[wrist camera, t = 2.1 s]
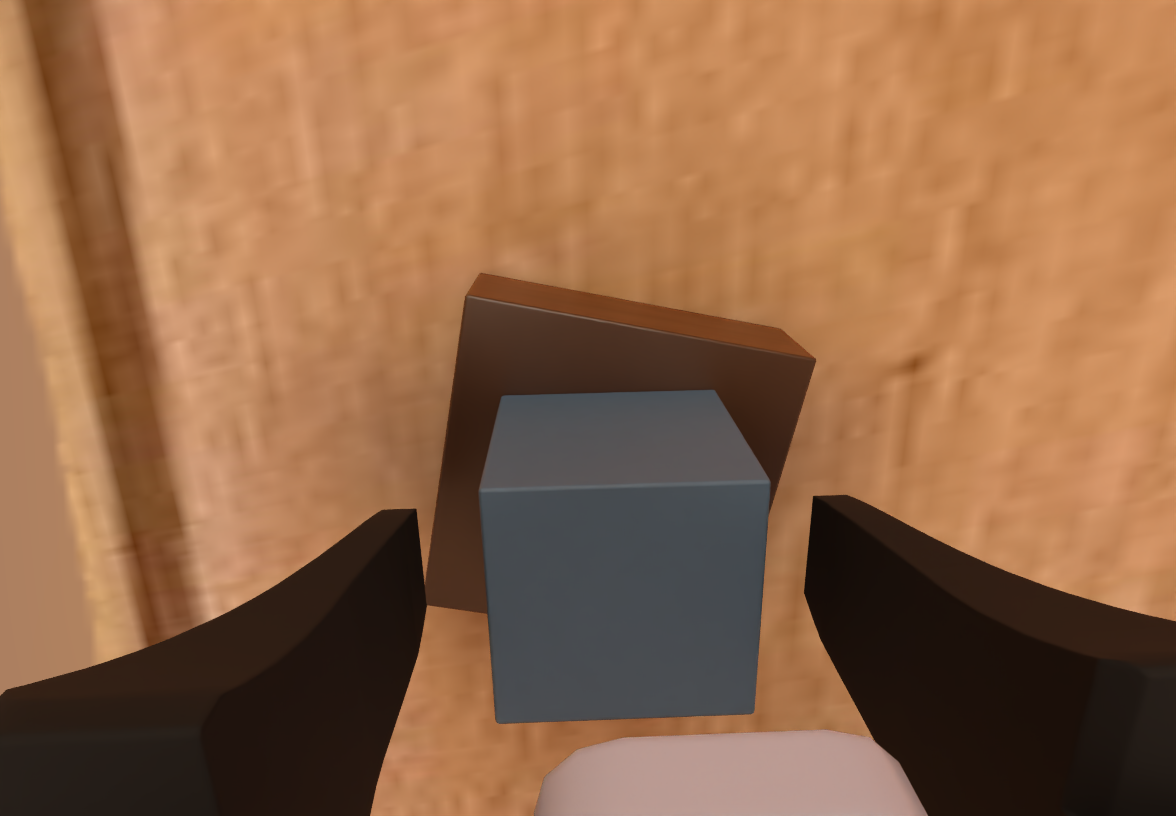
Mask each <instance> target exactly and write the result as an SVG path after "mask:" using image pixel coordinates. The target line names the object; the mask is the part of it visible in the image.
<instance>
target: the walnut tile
mask: <svg viewBox="0 0 1176 816" xmlns="http://www.w3.org/2000/svg"><path fill="white" fill-rule="evenodd" d="M815 363H816V359H815V358H814V357H813V356H812V355H811V354H809V353H808V352H807V351H806V350H805V349H804V348H802V347H801V346H800V345H799V344H798V343H797V342H795V341H794V340H793V339H792V338H791V337H790V336H788V335H787V334H786V333H785V332H784V331H783V330H781V329H778V328H773V327H767V326H762V325H756V324H751V323H746V322H740V321H735V320H730V319H724V318H719V317H714V316H708V315H703V314H697V313H692V312H687V311H681V310H676V309H671V308H665V307H660V306H655V305H649V304H644V303H638V302H633V301H628V300H622V299H617V298H612V297H606V296H601V295H596V294H590V293H585V292H580V291H574V290H569V289H563V288H558V287H553V286H547V285H542V284H537V283H531V282H526V281H521V280H515V279H510V278H504V277H499V276H494V275H488V274H483V273H480V274H479V275H478V277H477V279H476V280H475V282H474V283H473V285H472V287H471V288H470V290H469V291H468V293H467V294H466V296H465V301H464V308H463V315H462V322H461V329H460V336H459V344H458V351H457V358H456V365H455V372H454V379H453V386H452V394H451V401H450V408H449V415H448V422H447V429H446V437H445V444H444V451H443V458H442V465H441V472H440V479H439V487H438V494H437V501H436V508H435V515H434V522H433V529H432V537H431V544H430V551H429V558H428V565H427V572H426V580H425V594H426V603H427V605H430V606H437V607H444V608H451V609H458V610H465V611H472V612H479V613H486V614H487V600H486V587H485V574H484V561H483V547H482V534H481V521H480V507H479V494H478V491H479V487H480V483H481V478H482V474H483V470H484V466H485V462H486V458H487V454H488V449H489V445H490V441H491V437H492V433H493V429H494V424H495V420H496V416H497V412H498V408H499V404H500V400H501V397H502V396H504V395H539V394H576V393H613V392H649V391H686V390H715V391H716V393H717V395H718V396H719V398H720V400H721V401H722V403H723V404H724V406H725V408H726V409H727V411H728V413H729V414H730V416H731V417H732V419H733V421H734V422H735V424H736V426H737V427H738V429H739V431H740V432H741V434H742V435H743V437H744V439H745V440H746V442H747V444H748V445H749V447H750V449H751V450H752V452H753V453H754V455H755V457H756V458H757V460H758V462H759V463H760V465H761V466H762V468H763V470H764V471H765V473H766V475H767V476H768V478H769V480H770V482H771V487H770V500H769V513H770V510H771V506H772V503H773V500H774V496H775V493H776V490H777V487H778V483H779V480H780V477H781V474H782V470H783V467H784V464H785V461H786V457H787V454H788V451H789V447H790V444H791V441H792V438H793V434H794V431H795V428H796V425H797V421H798V418H799V415H800V412H801V408H802V405H803V402H804V399H805V395H806V392H807V389H808V385H809V382H810V379H811V376H812V372H813V369H814V366H815ZM768 516H769V514H768Z"/></svg>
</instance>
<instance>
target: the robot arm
mask: <svg viewBox="0 0 1176 816" xmlns="http://www.w3.org/2000/svg"><path fill="white" fill-rule="evenodd" d="M804 594H805V597H806V600H807V603H808V606H809V609H810V612H811V615H812V618H813V620H814V623H815V626H816V628H817V631H818V634H819V636H820V639H821V641H822V643H823V645H824V647H825V649H826V651H827V653H828V654H829V656H830V658H831V660H832V662H833V664H834V666H835V668H836V670H837V672H838V673H839V675H840V677H841V679H842V681H843V683H844V685H845V686H846V688H847V690H848V692H849V694H850V696H851V698H852V699H853V701H854V703H855V705H856V707H857V709H858V711H859V712H860V714H861V716H862V718H863V720H864V722H865V724H866V725H867V727H868V729H869V731H870V733H871V735H872V736H873V738H874V740H875V741H873V740H872V739H871V738H870V737H865V736H859V735H854V734H848V733H842V732H837V731H831V730H826V729H824V730H799V731H774V732H749V733H724V734H699V735H675V736H650V737H625V738H620V739H616V740H612V741H608V742H604V743H600V744H596V745H592V746H588V747H584V748H580V749H577V750H576V751H574V752H573V753H572V754H571V755H570V756H568V757H567V758H566V759H565V760H564V761H562V762H561V763H560V764H559V765H558V766H557V767H555V768H554V769H553V770H552V771H551V772H549V773H548V774H547V775H546V776H545V777H544V780H543V783H542V786H541V790H540V793H539V797H538V800H537V803H536V807H535V810H534V816H1176V621H1172V620H1167V619H1163V618H1158V617H1153V616H1149V615H1145V614H1141V613H1137V612H1133V611H1129V610H1125V609H1121V608H1117V607H1113V606H1109V605H1106V604H1103V603H1099V602H1096V601H1092V600H1089V599H1085V598H1082V597H1079V596H1075V595H1072V594H1068V593H1065V592H1062V591H1059V590H1056V589H1053V588H1050V587H1047V586H1044V585H1042V584H1039V583H1036V582H1034V581H1031V580H1028V579H1026V578H1023V577H1020V576H1018V575H1015V574H1012V573H1009V572H1007V571H1004V570H1002V569H1000V568H997V567H995V566H992V565H990V564H988V563H985V562H983V561H981V560H979V559H977V558H974V557H972V556H970V555H968V554H966V553H963V552H961V551H959V550H957V549H955V548H953V547H951V546H949V545H947V544H944V543H942V542H940V541H938V540H936V539H934V538H932V537H930V536H928V535H926V534H925V533H923V532H921V531H919V530H917V529H915V528H913V527H911V526H909V525H907V524H905V523H903V522H902V521H900V520H898V519H896V518H894V517H892V516H890V515H888V514H886V513H884V512H883V511H881V510H879V509H877V508H875V507H873V506H871V505H869V504H867V503H865V502H862V501H860V500H858V499H856V498H853V497H851V496H848V495H832V496H813V503H812V514H811V524H810V535H809V545H808V556H807V567H806V577H805V588H804ZM426 608H427V603H426V594H425V585H424V575H423V566H422V557H421V547H420V538H419V529H418V520H417V510H416V509H392V510H381V511H380V512H378V513H376V514H375V515H373V516H372V517H371V518H369V519H368V520H366V521H365V522H364V523H362V524H361V525H360V526H359V527H357V528H356V529H355V530H353V531H352V532H351V533H349V534H348V535H347V536H345V537H344V538H343V539H341V540H340V541H339V542H337V543H336V544H335V545H333V546H332V547H331V548H329V549H328V550H327V551H325V552H324V553H323V554H321V555H320V556H319V557H317V558H316V559H314V560H313V561H311V562H310V563H308V564H307V565H305V566H304V567H302V568H301V569H299V570H298V571H296V572H295V573H293V574H292V575H291V576H289V577H288V578H286V579H285V580H283V581H282V582H280V583H279V584H277V585H275V586H274V587H272V588H271V589H269V590H267V591H266V592H264V593H262V594H260V595H259V596H257V597H255V598H253V599H252V600H250V601H248V602H246V603H244V604H242V605H240V606H239V607H237V608H235V609H233V610H231V611H229V612H227V613H225V614H223V615H221V616H219V617H217V618H215V619H213V620H210V621H208V622H206V623H204V624H202V625H199V626H197V627H195V628H193V629H190V630H188V631H186V632H184V633H181V634H179V635H177V636H175V637H172V638H170V639H168V640H165V641H163V642H160V643H158V644H155V645H152V646H150V647H147V648H144V649H142V650H139V651H136V652H134V653H131V654H128V655H125V656H122V657H119V658H116V659H113V660H110V661H107V662H104V663H101V664H98V665H95V666H92V667H89V668H86V669H82V670H78V671H75V672H71V673H68V674H64V675H60V676H57V677H53V678H49V679H46V680H42V681H39V682H35V683H32V684H27V685H24V686H20V687H15V688H11V689H8V690H6V691H5V692H4V693H3V694H2V695H1V696H0V816H370V813H371V808H372V804H373V799H374V794H375V790H376V785H377V782H378V778H379V775H380V771H381V767H382V764H383V760H384V757H385V754H386V751H387V748H388V745H389V742H390V739H391V736H392V733H393V730H394V727H395V724H396V721H397V718H398V715H399V712H400V709H401V706H402V703H403V700H404V697H405V694H406V691H407V688H408V685H409V682H410V678H411V675H412V672H413V669H414V666H415V663H416V660H417V656H418V653H419V648H420V642H421V637H422V632H423V626H424V620H425V614H426Z"/></svg>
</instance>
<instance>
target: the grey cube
mask: <svg viewBox="0 0 1176 816" xmlns="http://www.w3.org/2000/svg"><path fill="white" fill-rule="evenodd" d="M770 487H771V482H770V480H769V478H768V476H767V475H766V473H765V471H764V470H763V468H762V466H761V465H760V463H759V462H758V460H757V458H756V457H755V455H754V453H753V452H752V450H751V449H750V447H749V445H748V444H747V442H746V440H745V439H744V437H743V435H742V434H741V432H740V431H739V429H738V427H737V426H736V424H735V422H734V421H733V419H732V417H731V416H730V414H729V413H728V411H727V409H726V408H725V406H724V404H723V403H722V401H721V400H720V398H719V396H718V395H717V393H716V391H715V390H686V391H649V392H613V393H576V394H539V395H504V396H502V397H501V400H500V404H499V408H498V412H497V416H496V420H495V424H494V429H493V433H492V437H491V441H490V445H489V449H488V454H487V458H486V462H485V466H484V470H483V474H482V478H481V483H480V487H479V491H478V494H479V507H480V521H481V534H482V547H483V561H484V574H485V587H486V600H487V614H488V627H489V640H490V654H491V667H492V680H493V694H494V707H495V720H496V722H497V723H499V724H508V723H534V722H560V721H587V720H613V719H639V718H666V717H692V716H718V715H745V714H753V713H754V709H755V696H756V682H757V668H758V654H759V640H760V626H761V612H762V598H763V584H764V570H765V556H766V542H767V528H768V514H769V500H770Z"/></svg>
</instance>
